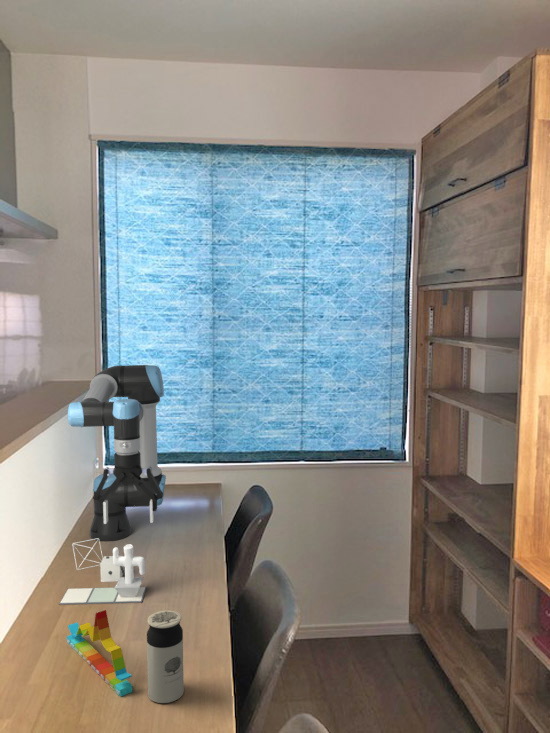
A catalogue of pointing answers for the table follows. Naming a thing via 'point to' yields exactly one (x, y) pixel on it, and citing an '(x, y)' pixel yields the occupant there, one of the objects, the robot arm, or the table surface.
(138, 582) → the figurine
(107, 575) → the die
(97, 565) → the geometric polyhedron
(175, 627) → the travel mug
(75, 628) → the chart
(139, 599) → the game mat
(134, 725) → the table surface
